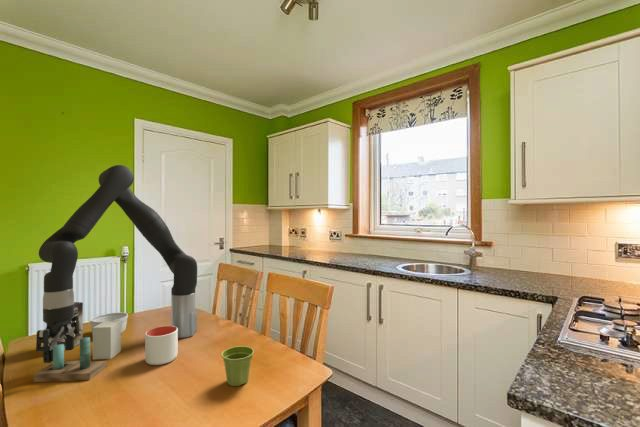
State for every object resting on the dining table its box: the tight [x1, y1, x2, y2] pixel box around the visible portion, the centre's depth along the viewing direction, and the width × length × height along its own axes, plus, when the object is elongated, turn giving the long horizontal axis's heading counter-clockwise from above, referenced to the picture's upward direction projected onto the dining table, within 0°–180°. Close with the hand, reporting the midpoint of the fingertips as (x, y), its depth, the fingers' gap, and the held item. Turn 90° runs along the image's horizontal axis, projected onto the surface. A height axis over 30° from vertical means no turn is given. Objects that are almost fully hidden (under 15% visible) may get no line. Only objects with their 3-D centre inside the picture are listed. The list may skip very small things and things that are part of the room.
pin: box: [52, 344, 65, 370], centre depth 97 cm, size 3×3×9 cm
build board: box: [33, 360, 80, 383], centre depth 97 cm, size 8×8×2 cm
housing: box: [92, 321, 122, 360], centre depth 110 cm, size 6×6×11 cm
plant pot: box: [221, 345, 255, 387], centre depth 93 cm, size 9×9×9 cm
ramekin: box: [89, 312, 129, 335], centre depth 131 cm, size 13×13×7 cm
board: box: [61, 336, 107, 382], centre depth 97 cm, size 8×8×11 cm
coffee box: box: [48, 301, 84, 352], centre depth 117 cm, size 9×6×16 cm
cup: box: [144, 325, 179, 366], centre depth 107 cm, size 10×10×10 cm
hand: (59, 355), depth 97 cm, fingers open, 8 cm apart
